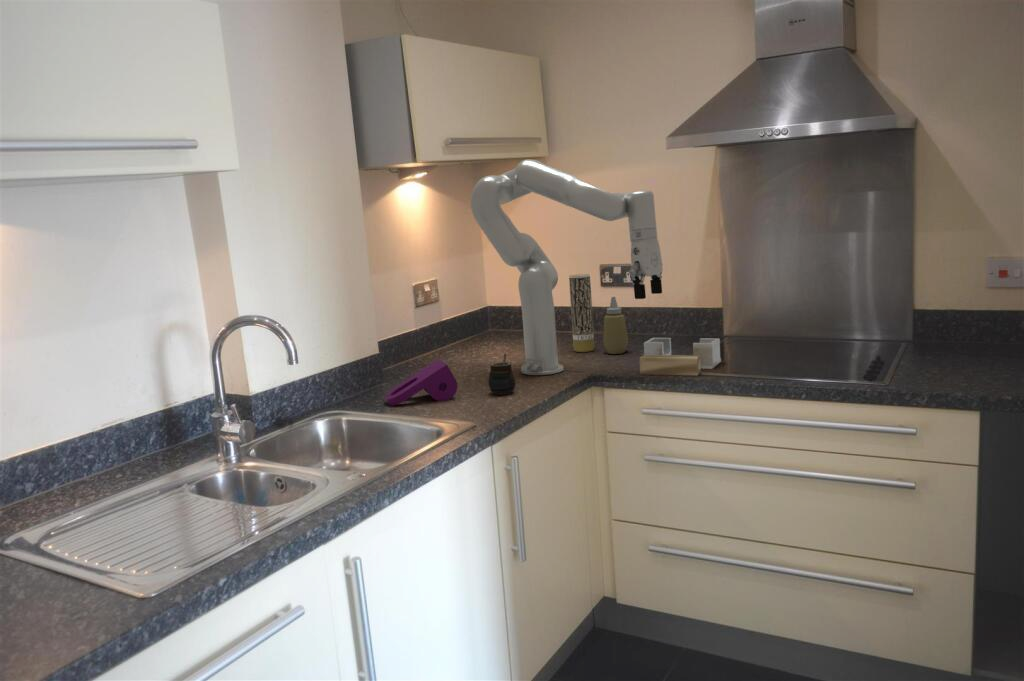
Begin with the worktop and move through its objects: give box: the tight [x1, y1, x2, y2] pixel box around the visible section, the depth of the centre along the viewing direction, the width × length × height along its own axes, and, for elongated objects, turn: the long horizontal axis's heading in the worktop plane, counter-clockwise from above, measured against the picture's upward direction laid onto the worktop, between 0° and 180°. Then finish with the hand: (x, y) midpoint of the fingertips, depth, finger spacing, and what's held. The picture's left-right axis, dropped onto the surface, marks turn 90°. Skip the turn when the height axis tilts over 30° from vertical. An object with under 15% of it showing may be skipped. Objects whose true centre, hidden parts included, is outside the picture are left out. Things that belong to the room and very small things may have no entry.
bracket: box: [643, 337, 722, 370], centre depth 245 cm, size 10×20×7 cm, turn 63°
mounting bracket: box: [384, 358, 458, 407], centre depth 225 cm, size 10×8×18 cm
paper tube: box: [568, 273, 595, 353], centre depth 276 cm, size 7×7×25 cm
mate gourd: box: [487, 353, 517, 396], centre depth 225 cm, size 7×8×10 cm
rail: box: [639, 354, 701, 376], centre depth 235 cm, size 4×16×5 cm, turn 65°
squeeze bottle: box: [602, 296, 629, 355], centre depth 269 cm, size 8×8×18 cm
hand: (648, 296), depth 239 cm, fingers open, 9 cm apart
